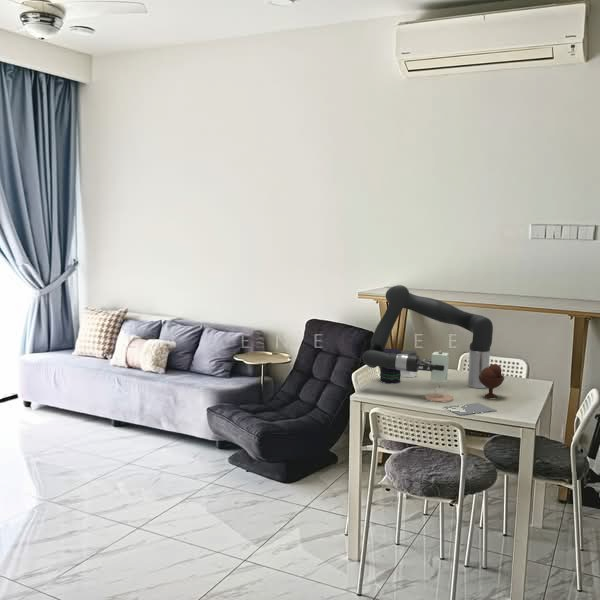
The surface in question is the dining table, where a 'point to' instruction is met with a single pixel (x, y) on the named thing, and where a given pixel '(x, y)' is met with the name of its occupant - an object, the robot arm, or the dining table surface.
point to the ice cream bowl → (491, 378)
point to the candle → (439, 391)
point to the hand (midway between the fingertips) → (445, 366)
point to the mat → (471, 409)
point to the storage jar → (390, 370)
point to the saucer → (432, 397)
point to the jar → (407, 373)
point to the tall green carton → (440, 359)
